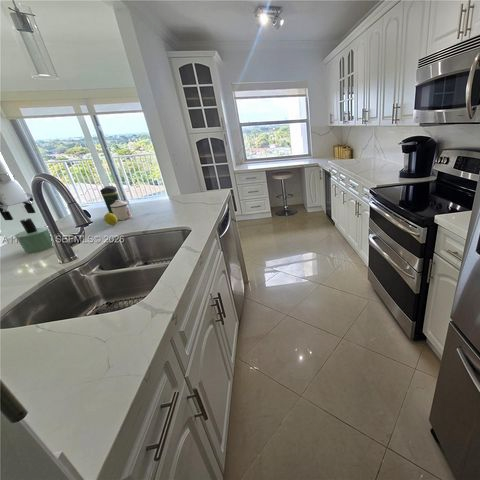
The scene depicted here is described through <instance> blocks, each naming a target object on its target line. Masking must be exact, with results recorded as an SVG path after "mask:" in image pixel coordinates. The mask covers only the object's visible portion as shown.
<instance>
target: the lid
mask: <svg viewBox="0 0 480 480" xmlns="http://www.w3.org/2000/svg"><path fill="white" fill-rule="evenodd" d="M19 222H20V224H21V225H22V227H23V229H24V230H23V231H20V232H18V233H16V234H15V235H14V237H15V238H16V239H17V238H24V237H30V236H34V235H38V234H41V233H44V232H46V231H48V229H47V227H48V226H39V227H36V225H35V223H34V222H33V220H32V218H24V219H23V218H22V219H20V220H19Z"/></svg>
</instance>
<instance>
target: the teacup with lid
mask: <svg viewBox="0 0 480 480" xmlns="http://www.w3.org/2000/svg"><path fill="white" fill-rule="evenodd" d="M110 208H111V209H112V211H113V214H114V215H115V216H116V218H117V221H125V220H129V219H131V218H132V217H133V214H132V212H131V208H130V206H129V203H128V201H122V200H121V201H119V200H115V202H114V203H113V204H112V205H110Z"/></svg>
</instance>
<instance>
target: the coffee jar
mask: <svg viewBox="0 0 480 480" xmlns="http://www.w3.org/2000/svg"><path fill="white" fill-rule="evenodd" d="M99 192H100V194H101V196H102V198H103V201H104V203H105V206H106V209H107V211H108V213H112V214H113V211H112V209H111V208H110V205H112V204H113V203H114V202H115V200H119V201H122V199H121V197H120V195H119V192H118V189H117V187H116V186H113V185H105V186H104V187H103V188H101V189H100V191H99Z"/></svg>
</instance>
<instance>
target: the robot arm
mask: <svg viewBox="0 0 480 480" xmlns="http://www.w3.org/2000/svg"><path fill="white" fill-rule="evenodd" d="M32 194H33V193H30V192H26V191H25V190H24V188H23V187H22V186H21V184H20V183H19V181H17V180H16V179H15V174H14V173H12V172H11V170H10V168H9V166H8V165H7V163H6V160H5V159H4V157H3V155H2V153H1V152H0V216H2V218H3V219H4V221H13V220H14V218H13V216H12V214H11V212H10V211H9V210H8V208H9V207H11V206H14V205H19V204H23V207H24V209H25V210H26V212H27V214H36V211H35V208H34V206H33V204H34V203H33V201H34V194H33V195H32Z"/></svg>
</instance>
